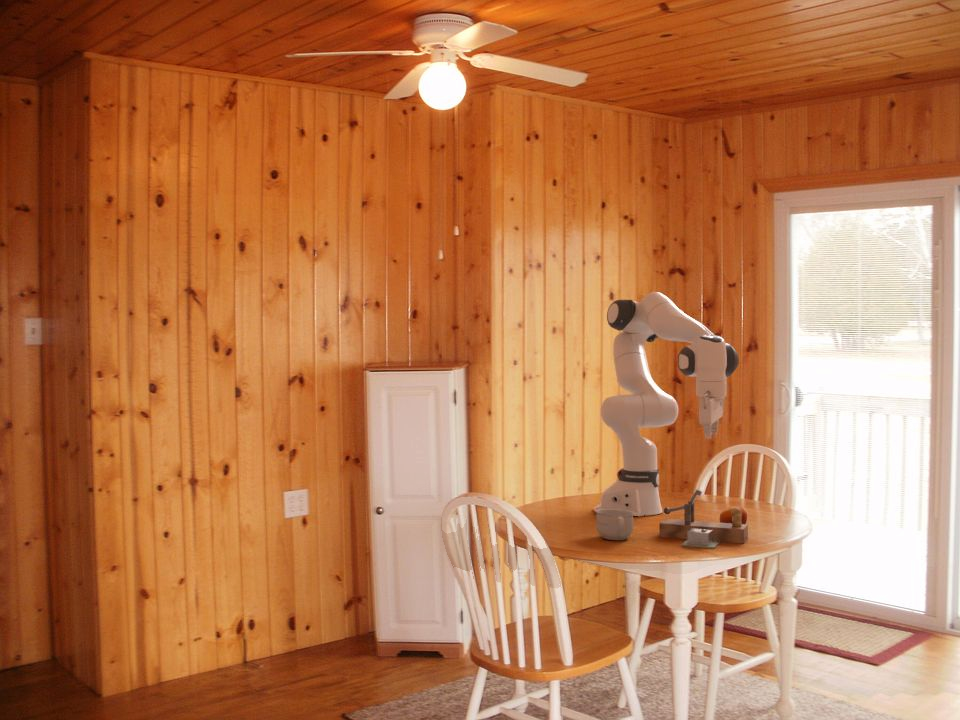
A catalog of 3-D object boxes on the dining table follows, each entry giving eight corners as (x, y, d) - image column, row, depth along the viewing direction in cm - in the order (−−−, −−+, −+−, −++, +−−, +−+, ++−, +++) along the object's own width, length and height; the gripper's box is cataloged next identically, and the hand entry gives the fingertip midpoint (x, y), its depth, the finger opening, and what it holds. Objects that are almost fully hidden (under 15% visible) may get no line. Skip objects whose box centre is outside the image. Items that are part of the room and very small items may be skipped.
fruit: (737, 529, 279) (727, 503, 282) (721, 538, 285) (711, 513, 289) (757, 526, 283) (747, 501, 286) (741, 535, 289) (732, 511, 292)
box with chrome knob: (687, 543, 266) (687, 529, 266) (692, 540, 270) (692, 526, 270) (708, 545, 263) (708, 531, 263) (713, 542, 267) (713, 528, 267)
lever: (682, 525, 276) (661, 512, 278) (684, 523, 279) (664, 510, 281) (701, 492, 273) (679, 479, 276) (703, 490, 276) (682, 478, 279)
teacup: (596, 534, 282) (595, 507, 282) (633, 534, 281) (632, 507, 281) (597, 545, 268) (596, 516, 268) (635, 545, 267) (635, 517, 267)
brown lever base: (659, 537, 277) (659, 502, 277) (665, 532, 283) (665, 498, 283) (743, 543, 267) (743, 508, 266) (747, 538, 273) (747, 503, 273)
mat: (681, 546, 265) (681, 544, 265) (687, 540, 271) (687, 539, 271) (714, 548, 261) (714, 547, 261) (719, 543, 268) (719, 541, 268)
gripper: (715, 394, 271) (715, 442, 271) (727, 387, 289) (727, 432, 290) (693, 393, 273) (693, 441, 274) (706, 386, 292) (706, 431, 293)
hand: (711, 436), depth 282 cm, fingers open, 8 cm apart
